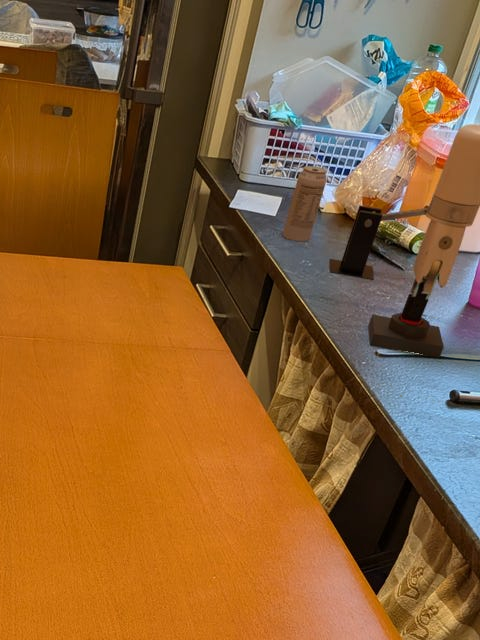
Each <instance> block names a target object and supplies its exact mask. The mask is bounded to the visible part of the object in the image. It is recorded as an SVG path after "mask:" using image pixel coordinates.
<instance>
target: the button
mask: <svg viewBox="0 0 480 640" xmlns="http://www.w3.org/2000/svg"><path fill="white" fill-rule="evenodd" d="M400 320H401V321H402V322H405V323H407V324H412V325H421V320H420V321H419V322H415V321H410V320H404V319H402V317H401V318H400Z"/></svg>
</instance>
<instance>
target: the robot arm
mask: <svg viewBox="0 0 480 640" xmlns="http://www.w3.org/2000/svg"><path fill="white" fill-rule="evenodd" d="M428 206H429V208H428V211H427V213H426V215H425V217H426V216H427V217H426V218H428V219H429V220H430V221H429V222H428V226H427V228H426V230H425V233H424V236H423V237H422V241H421V243H420V246H419V249H418V251H417V255H416V257H415V260H414V263H413V273H414V281H413V284H412V287H411V289H410V293H408V295H407V298H406V301H405V304H404V305H403V308H402V312H401V313H402V314H401V315H402V319H404V320H410V321H415V322H419V321H420V320H421V318H423V315H424V313H425V310H426V308H427V304H428V303H429V299H430V297H431V294H432V292H433V289H434V287H435V285H436V283H438V286H439V288H440V289H444V288H445V287H446V286H447V285H448V282H449V278H450V276H451V274H452V270H453V268H454V266H455V262H456V259H457V257H458V254H459V251H460V248H461V245H462V242H463V239H464V236H465V232H466V228H467V227H471V226H473V224H474V221H475V219H476V217H477V214H478V212H479V209H480V124H474V123H473V124H465V125H463V126H461V127H460V128H459V129H458V131H457V132H456V134H455V136H454V138H453V141H452V143H451V147H450V149H449V151H448V155H447V158H446V160H445V162H444V165H443V168H442V170H441V174H440V176H439V179H438V181H437V184H436V187H435V189H434V192H433V195H432V197H431V200H430V203H429V205H428Z"/></svg>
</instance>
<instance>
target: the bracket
mask: <svg viewBox="0 0 480 640" xmlns="http://www.w3.org/2000/svg"><path fill="white" fill-rule="evenodd" d="M371 211H375V213H373V212H371ZM382 214H383V213H382V208H378V207H372V206H366V205H361V204H360V205H359V206H358V208H357V212H356V215H355V218H354V222H353V224H352V227H351V231H350V233H349V237H348V240H347V243H346V246H345V249H344V252H343V255H342V259H340V260H339V259H334V258H329V263H328V265H329V267H328V268H329V269H328V270H329V271H328V272H329V274H330V273H331V274H336V275H342V276H348V277H353V278H357V279H358V278H359V279H363V280H369V281H375V277H374V267H373V266H372V265H368V264H367V262H368V260H369V257H370V254H371V251H372V248H373V246H374V245H373V244H374V241H375V239H376V236H377V233H378V230H379V227H380V224H381V222H382V221H381V218H382Z"/></svg>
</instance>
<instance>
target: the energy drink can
mask: <svg viewBox="0 0 480 640" xmlns="http://www.w3.org/2000/svg"><path fill="white" fill-rule="evenodd" d="M326 173H327V170H326V168H323V167H319V166H314V165H306V166H303V168H302V170H301V172H300V173H299V174H298V176H297V179H296V183H295V188H294V192H293V195H292V198H291V202H290V206H289V208H288V209H289V210H288V213H287V217H286V220H285V223H284V227H283V230H282V231H283V232H282V237H284V238H285V239H287V240H291V241H295V242H301V243H302V242H303V243H304V242H308V241H309V240H310V239H311V235H312V231H313V228H314V225H315V221H316V218H317V215H318V211H319V208H320V204H321V202H322V198H323V195H324V191H325V187H326V183H327V180H328V179H327V174H326Z"/></svg>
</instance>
